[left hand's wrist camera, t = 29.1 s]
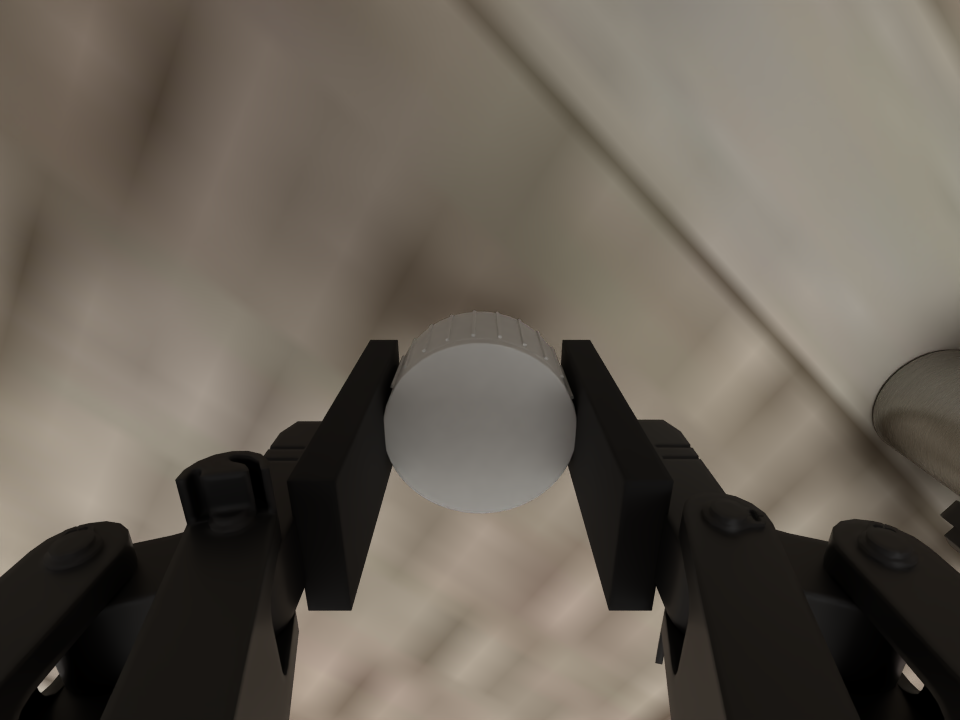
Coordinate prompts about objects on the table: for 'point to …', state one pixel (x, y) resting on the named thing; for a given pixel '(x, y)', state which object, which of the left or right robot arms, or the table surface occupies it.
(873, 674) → the left robot arm
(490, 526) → the table surface
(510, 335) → the cap
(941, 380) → the bottle
